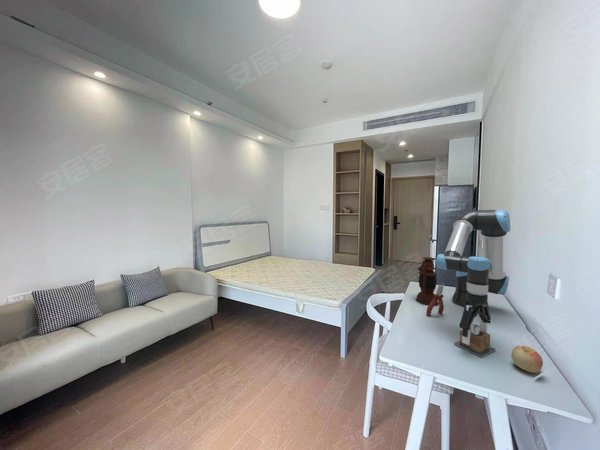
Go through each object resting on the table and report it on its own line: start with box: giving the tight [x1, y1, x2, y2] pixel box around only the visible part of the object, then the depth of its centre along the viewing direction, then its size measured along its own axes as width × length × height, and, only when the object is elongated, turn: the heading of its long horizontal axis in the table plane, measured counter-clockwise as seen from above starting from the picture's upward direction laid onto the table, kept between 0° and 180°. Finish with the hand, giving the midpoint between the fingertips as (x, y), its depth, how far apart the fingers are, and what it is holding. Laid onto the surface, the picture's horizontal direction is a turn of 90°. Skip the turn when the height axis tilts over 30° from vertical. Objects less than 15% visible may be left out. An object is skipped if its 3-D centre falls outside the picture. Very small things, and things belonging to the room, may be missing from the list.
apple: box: [510, 345, 544, 374], centre depth 92 cm, size 9×9×8 cm
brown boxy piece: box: [459, 326, 491, 353], centre depth 106 cm, size 8×8×6 cm
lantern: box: [415, 256, 439, 307], centre depth 158 cm, size 17×14×30 cm
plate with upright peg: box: [453, 323, 496, 359], centre depth 106 cm, size 11×11×10 cm
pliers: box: [426, 282, 445, 317], centre depth 138 cm, size 11×20×3 cm
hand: (474, 339), depth 106 cm, fingers open, 13 cm apart
